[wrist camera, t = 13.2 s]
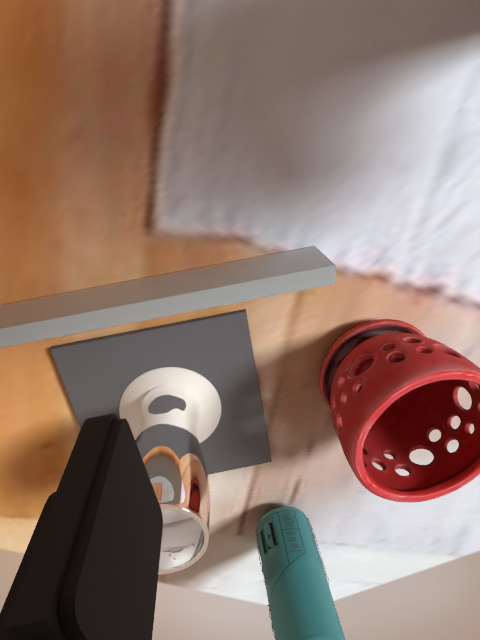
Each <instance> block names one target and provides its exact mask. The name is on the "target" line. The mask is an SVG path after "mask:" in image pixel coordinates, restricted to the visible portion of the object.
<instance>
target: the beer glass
mask: <svg viewBox="0 0 480 640" xmlns="http://www.w3.org/2000/svg"><path fill="white" fill-rule="evenodd" d="M200 414H201V409H200V404H199V402H198V400H197V398H196V397H195V395H194V394H193V393H192V392H190V391H189V390H187V389H185V388H183V387H180V386H175V385H164V386H160V387H157V388H154V389H152V390H151V391H149V392H148V393H147V394H146V395H145V396H144V397H143V398H142V400H141V402H140V404H139V408H138V419H139V432H138V435H137V438H136V440H135V441H136V444H137V447H138V449H139V452H140V455H141V457H142V460H143V462H144V465H145V468H146V470H147V473H148V476H149V478H150V481H151V484H152V486H153V489H154V491H155V494H156V497H157V499H158V502H159V505H160V507H161V511H162V516H163V531H162V541H161V551H160V561H159V571H158V575H162V574H170V573H175V572H178V571H181V570H183V569H186V568H188V567H189V566H191V565H193V564H194V563H195V562H197V561H198V560H199V559H200V558H201V557H202V556H203V554H204V553H205V551H206V549H207V547H208V544H209V521H210V487H209V477H208V472H207V467H206V463H205V459H204V456H203V452H202V449H201V446H200V443H199V439H198V435H197V427H198V423H199V420H200Z"/></svg>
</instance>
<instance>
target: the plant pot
mask: <svg viewBox="0 0 480 640" xmlns="http://www.w3.org/2000/svg"><path fill="white" fill-rule="evenodd" d="M319 385H320V391H321V394H322V397H323V399H324V401H325V403H326V404H327V406H328V407H329V408H330V409H331V415H332V420H333V424H334V428H335V430H336V433H337V435H338V438H339V440H340V443H341V446H342V449H343V452H344V454H345V456H346V459H347V461H348V463H349V465H350V466H351V468H352V470H353V472H354V474H355V475H356V477H357V478H358V480H359V481H360V482H361V484H362V485H363V486H364V487H365V488H366V489H368V490H369V491H370V492H372V493H373V494H375V495H377V496H380V497H382V498H385V499H388V500H392V501H398V502H421V501H426V500H431V499H435V498H438V497H441V496H443V495H446V494H449V493H451V492H453V491H455V490H457V489H459V488H460V487H462V486H464V485H465V484H467V483H469V482H470V481H471V480H473V479H474V478H475V477H477V476H478V475H479V474H480V368H479V367H477V366H476V365H475V364H474V363H472V362H471V361H470V360H468V359H467V358H465V357H464V356H462V355H461V354H459V353H458V352H456V351H454V350H453V349H451V348H449V347H447V346H445V345H444V344H442V343H440V342H437V341H435V340H433V339H430V338H427V337H425V335H424V334H423V333H422V332H421V331H420V330H418V329H417V328H416V327H414V326H412V325H410V324H408V323H405V322H402V321H398V320H390V319H382V320H375V321H370V322H367V323H364V324H361V325H359V326H357V327H355V328H353V329H351V330H349V331H348V332H346V333H345V334H344V335H343V336H341V337H340V338H339V339H338V340H337V341H336V342H335V343H334V344H333V345H332V347H331V348H330V350H329V351H328V353H327V355H326V357H325V359H324V361H323V364H322V367H321V371H320V377H319ZM477 385H478V386H479V387H478V386H477ZM460 387H463V388H465V389H466V390H467V391H468V392H469V394H470V396H471V398H472V405H471V408H470V409H469V410H466V409H464V408H463V407H462V406H461V405H460V404H459V402H458V398H457V393H458V389H459V388H460ZM454 416H458V417H459V418H460V420H461V423H460V426H459V427H458V428H457V429H453V428H452V427H451V420H452V418H453V417H454ZM471 424H473V425H474V432H473V433H472V434H471V433H470V432H469V426H470V425H471ZM434 429H438V430H440V432H441V438H440V439H439V440H438V441H436V442H431V441H430V439H429V433H430V432H431V431H432V430H434ZM454 439H455V440H457V441H458V442H459V447H458V449H457V450H456V451H455V452H453V453H450V452H448V450H447V444H448V443H449V441H451V440H454ZM416 449H427V450H429V451H430V452H431V453H432V454H433V456H434V459H433V461H432V462H431V463H430V464H428V465H418V464H415V463H413V462H412V461H411V460H410V458H409V454H410V453H411V452H412V451H413V450H416ZM384 454H390V455H391V456H393V458H394V459H388V458H386V457H385V456H384ZM372 462H375V463H377V464H379V465H380V466H381V467H382V468H383V470H378V469H377V468H375V467H374V466H373V464H372ZM398 468H400V469H405V470H407V471H408V472H409V474H410V475H408V476H401V475H399V474H397V473H396V471H395V469H398Z"/></svg>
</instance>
